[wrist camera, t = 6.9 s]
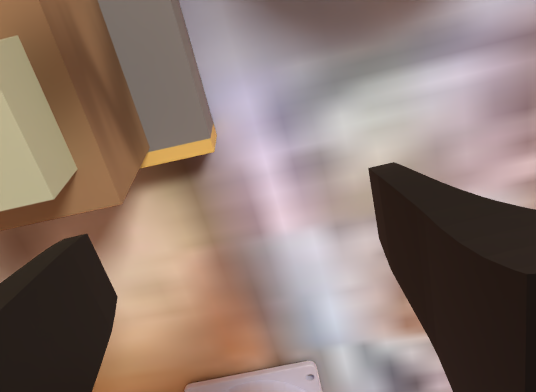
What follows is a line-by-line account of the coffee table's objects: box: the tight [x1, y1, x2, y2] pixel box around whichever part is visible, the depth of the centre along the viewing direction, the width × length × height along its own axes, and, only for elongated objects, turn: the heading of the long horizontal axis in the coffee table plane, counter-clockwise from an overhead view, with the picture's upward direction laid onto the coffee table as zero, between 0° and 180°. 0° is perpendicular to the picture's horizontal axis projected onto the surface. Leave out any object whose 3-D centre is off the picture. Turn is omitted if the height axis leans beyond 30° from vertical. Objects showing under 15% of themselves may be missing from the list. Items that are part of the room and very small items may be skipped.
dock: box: [98, 0, 217, 168], centre depth 19 cm, size 9×10×2 cm
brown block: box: [0, 0, 150, 231], centre depth 16 cm, size 7×5×5 cm
